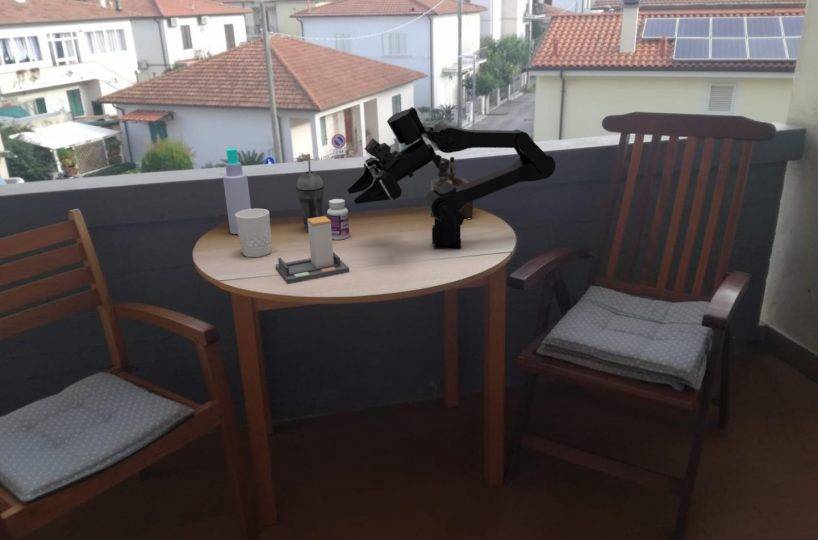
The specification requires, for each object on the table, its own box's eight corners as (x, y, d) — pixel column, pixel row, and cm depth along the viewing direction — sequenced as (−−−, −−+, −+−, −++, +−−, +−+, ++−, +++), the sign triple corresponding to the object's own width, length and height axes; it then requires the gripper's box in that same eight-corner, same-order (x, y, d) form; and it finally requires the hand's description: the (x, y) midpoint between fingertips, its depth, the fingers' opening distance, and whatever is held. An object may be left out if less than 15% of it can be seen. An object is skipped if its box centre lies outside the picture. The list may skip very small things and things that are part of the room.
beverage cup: (296, 233, 165) (289, 158, 158) (304, 225, 172) (297, 152, 165) (323, 234, 164) (317, 158, 157) (330, 225, 171) (324, 152, 164)
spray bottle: (249, 235, 165) (238, 151, 157) (227, 235, 166) (215, 151, 157) (256, 228, 170) (247, 147, 162) (235, 228, 171) (224, 147, 163)
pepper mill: (428, 211, 182) (427, 149, 175) (465, 209, 183) (466, 147, 176) (436, 227, 168) (436, 160, 161) (477, 225, 169) (478, 158, 162)
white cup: (278, 248, 155) (274, 209, 152) (265, 259, 148) (260, 218, 144) (249, 246, 157) (244, 207, 153) (234, 257, 150) (229, 217, 146)
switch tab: (328, 258, 144) (325, 216, 140) (334, 264, 140) (330, 220, 137) (310, 262, 142) (307, 218, 138) (316, 267, 139) (312, 223, 135)
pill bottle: (346, 240, 159) (343, 203, 156) (326, 239, 160) (323, 203, 157) (352, 234, 164) (350, 198, 160) (332, 233, 165) (330, 197, 161)
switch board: (334, 258, 148) (333, 246, 147) (349, 271, 139) (348, 259, 138) (275, 268, 142) (274, 256, 141) (287, 283, 134) (286, 270, 133)
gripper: (383, 124, 149) (327, 159, 149) (401, 137, 132) (338, 176, 132) (405, 163, 154) (351, 197, 154) (426, 181, 137) (365, 219, 137)
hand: (351, 196), depth 144 cm, fingers open, 9 cm apart
